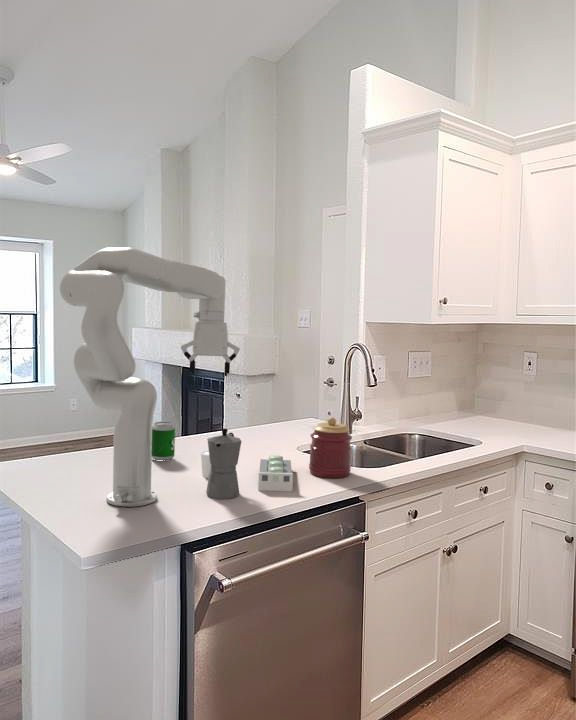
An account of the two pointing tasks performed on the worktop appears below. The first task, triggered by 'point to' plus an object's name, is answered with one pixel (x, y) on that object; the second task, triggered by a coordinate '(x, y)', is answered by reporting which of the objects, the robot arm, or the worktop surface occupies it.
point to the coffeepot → (223, 466)
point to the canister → (330, 450)
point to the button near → (275, 470)
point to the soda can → (163, 441)
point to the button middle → (275, 464)
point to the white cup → (205, 464)
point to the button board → (275, 477)
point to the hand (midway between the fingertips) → (209, 375)
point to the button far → (275, 458)
